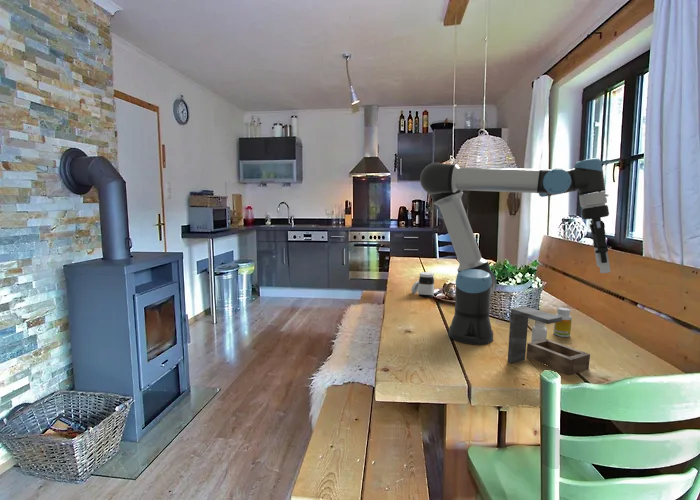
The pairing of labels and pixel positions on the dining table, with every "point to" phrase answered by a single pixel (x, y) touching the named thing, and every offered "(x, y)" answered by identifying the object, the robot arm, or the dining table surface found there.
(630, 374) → the dining table surface
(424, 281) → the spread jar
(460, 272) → the robot arm
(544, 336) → the pepper shaker
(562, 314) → the supplement bottle
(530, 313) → the brown and grey frame
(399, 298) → the dining table surface
